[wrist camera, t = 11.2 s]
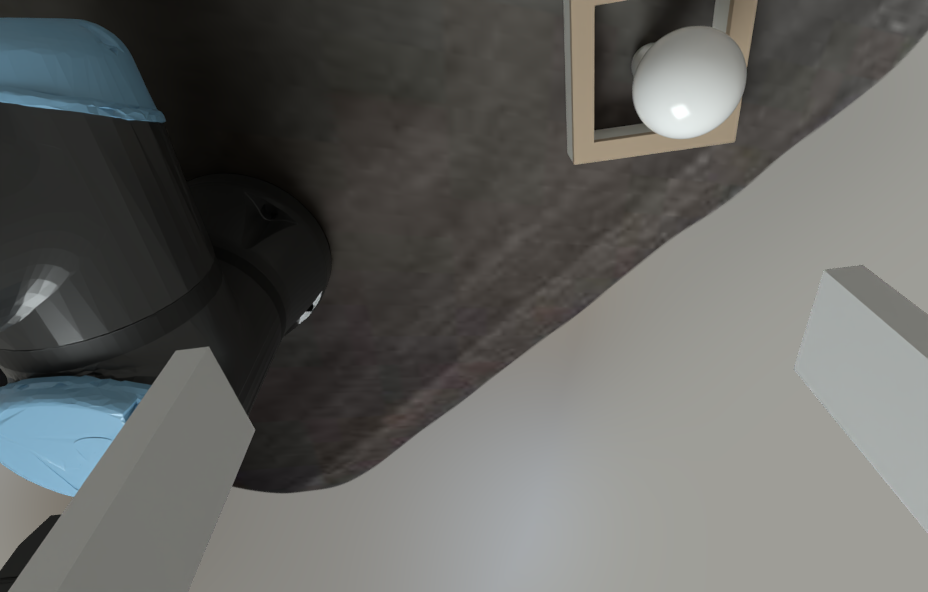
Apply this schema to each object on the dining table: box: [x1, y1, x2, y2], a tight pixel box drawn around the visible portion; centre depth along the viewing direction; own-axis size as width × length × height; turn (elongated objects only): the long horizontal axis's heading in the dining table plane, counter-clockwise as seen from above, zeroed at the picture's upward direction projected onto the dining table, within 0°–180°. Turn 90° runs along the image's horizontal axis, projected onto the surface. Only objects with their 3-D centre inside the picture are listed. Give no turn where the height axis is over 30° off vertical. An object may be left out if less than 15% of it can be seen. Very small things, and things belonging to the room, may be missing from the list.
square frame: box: [563, 0, 758, 165], centre depth 36 cm, size 12×12×3 cm
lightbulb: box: [631, 26, 747, 139], centre depth 33 cm, size 6×6×11 cm
